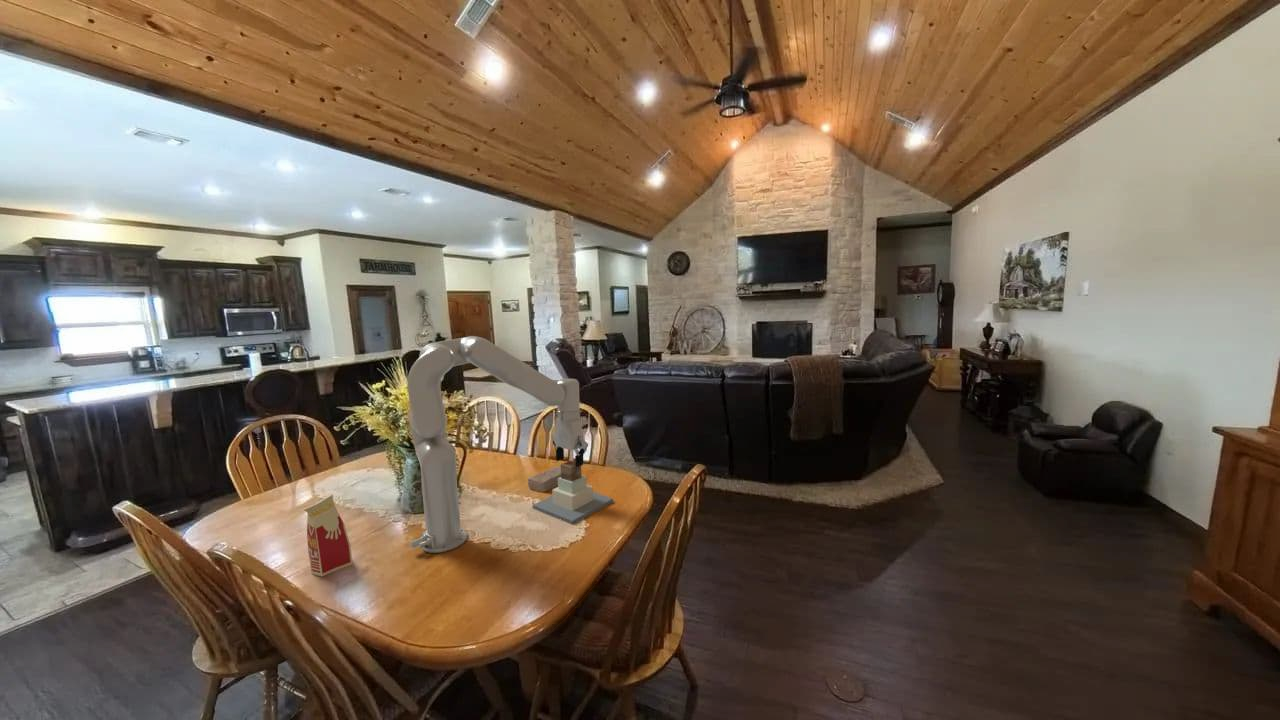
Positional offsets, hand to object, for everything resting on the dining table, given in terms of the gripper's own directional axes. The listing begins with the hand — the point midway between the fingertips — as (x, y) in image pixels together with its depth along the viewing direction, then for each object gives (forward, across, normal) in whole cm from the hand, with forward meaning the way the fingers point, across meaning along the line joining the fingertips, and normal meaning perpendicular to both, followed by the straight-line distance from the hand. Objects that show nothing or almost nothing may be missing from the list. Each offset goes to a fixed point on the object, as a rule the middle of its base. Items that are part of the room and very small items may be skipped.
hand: (569, 462), depth 156 cm
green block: (+9, 0, +1) cm, 9 cm away
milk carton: (+18, -28, -64) cm, 73 cm away
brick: (+16, -22, +9) cm, 28 cm away
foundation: (+16, 0, +1) cm, 16 cm away
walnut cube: (+5, 0, 0) cm, 5 cm away
